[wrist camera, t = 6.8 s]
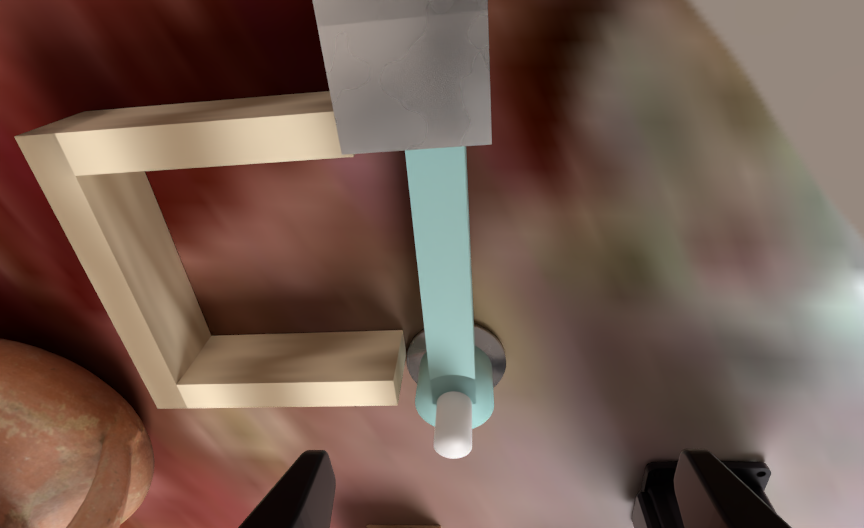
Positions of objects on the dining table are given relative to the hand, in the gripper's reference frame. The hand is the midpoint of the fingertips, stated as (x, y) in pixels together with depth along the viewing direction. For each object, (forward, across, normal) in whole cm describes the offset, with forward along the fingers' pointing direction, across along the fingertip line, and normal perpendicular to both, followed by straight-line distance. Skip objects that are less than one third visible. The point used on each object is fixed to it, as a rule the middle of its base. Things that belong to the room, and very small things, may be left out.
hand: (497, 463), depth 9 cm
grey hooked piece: (+13, +2, +1) cm, 13 cm away
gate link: (+12, +2, +2) cm, 13 cm away
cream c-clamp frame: (+13, +9, +2) cm, 16 cm away
